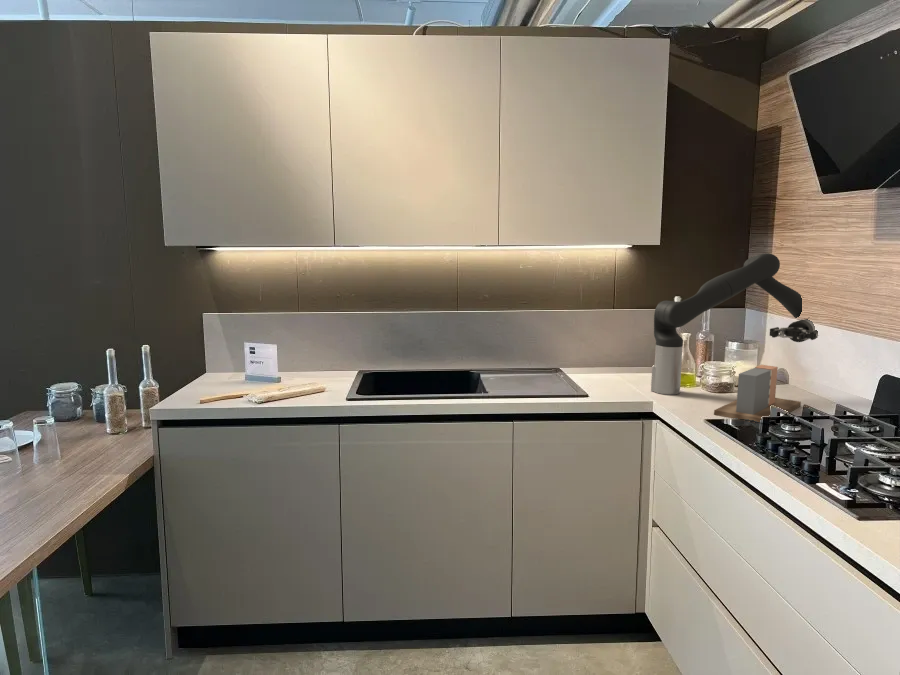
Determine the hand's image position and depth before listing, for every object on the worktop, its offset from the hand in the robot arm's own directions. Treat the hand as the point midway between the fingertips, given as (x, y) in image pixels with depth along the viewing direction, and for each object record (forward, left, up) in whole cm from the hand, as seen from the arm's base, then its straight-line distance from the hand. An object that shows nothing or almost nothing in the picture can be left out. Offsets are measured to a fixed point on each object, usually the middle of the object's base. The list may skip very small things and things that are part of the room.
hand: (786, 335), depth 211 cm
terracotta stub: (0, -17, -21) cm, 27 cm away
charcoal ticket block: (-1, -27, -21) cm, 34 cm away
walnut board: (-1, -21, -22) cm, 31 cm away
